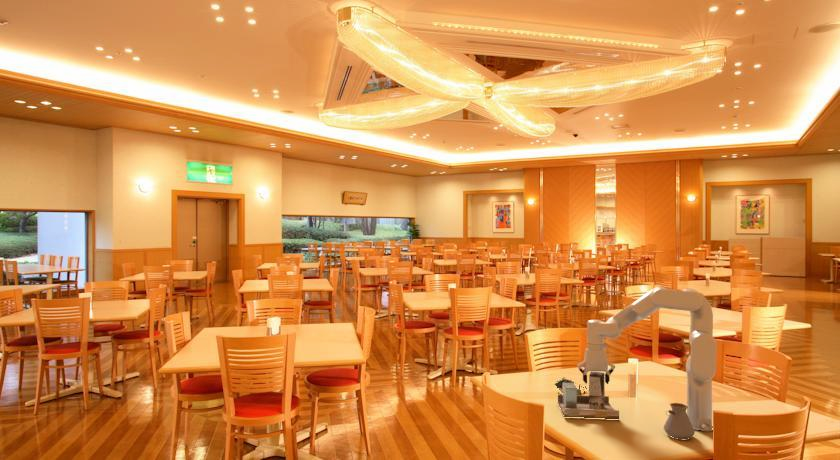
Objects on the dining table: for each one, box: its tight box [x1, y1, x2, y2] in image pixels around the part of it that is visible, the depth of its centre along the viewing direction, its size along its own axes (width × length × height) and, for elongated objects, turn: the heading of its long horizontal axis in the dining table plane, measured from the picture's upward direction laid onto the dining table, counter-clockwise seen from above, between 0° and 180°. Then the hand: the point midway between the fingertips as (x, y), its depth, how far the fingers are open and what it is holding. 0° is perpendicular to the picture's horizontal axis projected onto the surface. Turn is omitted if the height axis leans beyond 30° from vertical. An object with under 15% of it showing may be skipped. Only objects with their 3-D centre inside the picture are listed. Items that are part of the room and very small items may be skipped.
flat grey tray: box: [557, 394, 620, 420], centre depth 233 cm, size 18×24×5 cm
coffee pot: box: [663, 402, 696, 440], centre depth 202 cm, size 21×12×15 cm, turn 139°
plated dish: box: [555, 377, 587, 395], centre depth 265 cm, size 35×28×7 cm
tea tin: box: [562, 382, 577, 409], centre depth 234 cm, size 8×5×10 cm, turn 174°
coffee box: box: [588, 371, 606, 409], centre depth 232 cm, size 9×6×16 cm
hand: (596, 382), depth 232 cm, fingers open, 9 cm apart
